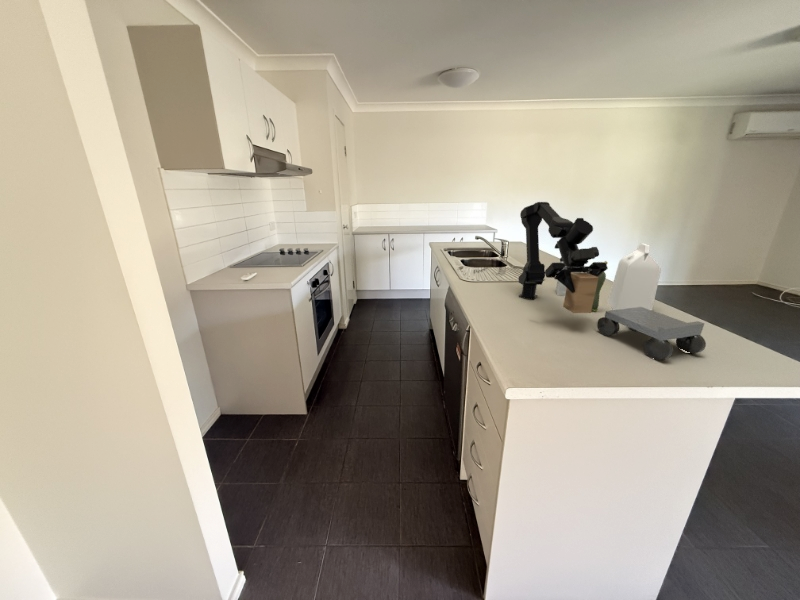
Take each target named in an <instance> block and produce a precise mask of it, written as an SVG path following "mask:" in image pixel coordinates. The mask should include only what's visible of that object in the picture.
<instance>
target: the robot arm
mask: <svg viewBox="0 0 800 600" xmlns="http://www.w3.org/2000/svg"><path fill="white" fill-rule="evenodd" d="M519 217H520V218H521V219H520V220H521V224H522V225H523V227H524V228H525V237H526V238H525V242H526V243H525V245H526V263H525V265H524V266H523V267H522V273H521V274H520V275H519V276H518V283H519V284H521V285H522V288H521V289H522V290H521V293H520V294H519V295H518V298H522V299H526V300H531V301H532V300H533V301H534V300H535V299H536V298H538V295H537V287H538V285H540V286H542V285H543V282H544V280H545V278H546V279H547V278H548V279H549V278H552V279H554V280H556V281H557V280H558V281H559V282H561V283H562V284H563V285H564V286H565V287H566V288H568V289H569V290H570V291H571V292H572V293H574V292H575V289H574V285H573V282H572V279H571V272H581V273H589V274H591V275H594V276H596V277H597V276H599V275H600V274H602V273H603V272H605V271H607V270H608V268H609V267H608V264H607V265H606V263H604V262H605V261H594V262H592V263H591V264H590V265H588V266H586V265H587V264H588V263H589V261H590V260H594V259H595V258H596V257H599V256H600V250H599V248H598V246H592V247H589V248H579V247H578V245H579V244H582V243H583V242H584V241H585V240H586V238H588V237H589V236H590V235H591V234H592V232H593V231H594V226H593V225H592V224H591V223H590V222H588V221H587V220H585V219H584V217H576V219H575V220H574V222H573V221H571V220H570V219H567V218H564V217H561V216H560V214H558V212H557V211H556V210H555V209H554V208H553V207H552V206H551V204H550V203H549V202H548V201H537V202H535V203H533V204H531V205H528V206H525V207H524V208H523V209H522V210H521V211H520V216H519ZM543 221H544V222H545V223H546V225H547V226H548V233H549V235H550V236H551V238H553V239H554V238H555V239H558V240H557V241H556V243H555V246H554V249H556V250H557V249H558V250H559V254H560V258H559V261H560V262H551V263H550V265H549V266H548V267H546V265H545V264H544V263H541V260H540V247H539V246H540V245H539V244H540V243H539V242H540V241H539V226H540V225H541V223H542V222H543ZM562 262H563V263H562ZM545 267H546V269H545Z"/></svg>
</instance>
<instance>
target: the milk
mask: <svg viewBox="0 0 800 600" xmlns="http://www.w3.org/2000/svg"><path fill="white" fill-rule="evenodd" d="M650 247H651V245H649V244H646V243H643V242H641V243H640V242H639V243H638V246H637V249H636V250H634V251H632V252H630V253H629V254H627V255H625V256H623V258H621V259H620V260H619V262H618V264H617V268H616V271H615V275H614V279H613V282H612V286H611V288H610V292H609V296H608V299H607V302H608V303H609V304H610V305H611V307H612V308H613V309H614V310H619V309H627V308H636V307H643V308H646V309H649V310H652V311H653V308H654V304H655V303H654V302H655V298H656V294H657V290H658V285H659V281H660V276H661V271H662V267H661V266H660V264H659V263H658V262H657V261H656V260H655V259H654V257H653V256H652V255H651V254H650ZM608 303H607V304H608ZM611 307H610V308H611ZM612 308H611V309H612ZM613 309H612V310H613Z"/></svg>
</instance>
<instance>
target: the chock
mask: <svg viewBox="0 0 800 600" xmlns="http://www.w3.org/2000/svg"><path fill="white" fill-rule="evenodd" d="M598 278H599V277H596V276H594V275H591V274H589V273H583V272H581V273H571V279H572V282H573V285H574V289H575V292H574V293H572V292H571V291H570V290H569V289H568V288H567V289H566V294H565V296H564V300H563V305H562V307H563V308H564V309H566V310H568V311H569V312H571V313H572V314H591V313H592V305H593V301H594V296H595V292H596V287H597V283H598Z"/></svg>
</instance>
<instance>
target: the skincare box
mask: <svg viewBox="0 0 800 600" xmlns="http://www.w3.org/2000/svg"><path fill="white" fill-rule="evenodd" d="M562 263H563V262H562ZM571 273H582V272H571ZM566 289H567V288H566V287H565V286H564V285H563V284H562V283H561V282H559V281H558V280H557V279H556V287H555V292H556V295H557V296H560V295H563V296H564V297H565V294H566ZM563 296H562V297H563Z"/></svg>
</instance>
